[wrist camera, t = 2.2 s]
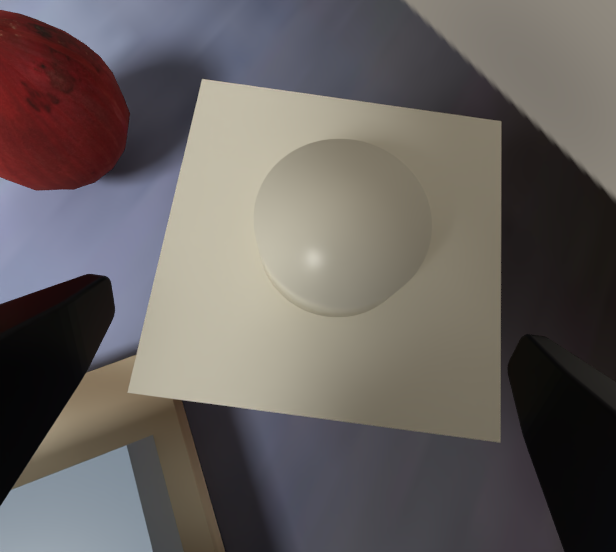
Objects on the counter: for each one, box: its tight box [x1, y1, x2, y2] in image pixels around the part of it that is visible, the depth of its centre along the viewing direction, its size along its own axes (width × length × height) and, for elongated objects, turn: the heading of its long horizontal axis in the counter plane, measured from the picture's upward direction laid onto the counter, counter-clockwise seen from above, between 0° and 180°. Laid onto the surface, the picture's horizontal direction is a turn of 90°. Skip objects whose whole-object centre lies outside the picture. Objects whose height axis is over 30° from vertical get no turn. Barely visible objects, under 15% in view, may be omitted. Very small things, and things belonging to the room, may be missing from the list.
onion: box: [0, 10, 130, 190], centre depth 15 cm, size 6×6×8 cm
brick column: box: [127, 79, 501, 442], centre depth 11 cm, size 4×4×13 cm
